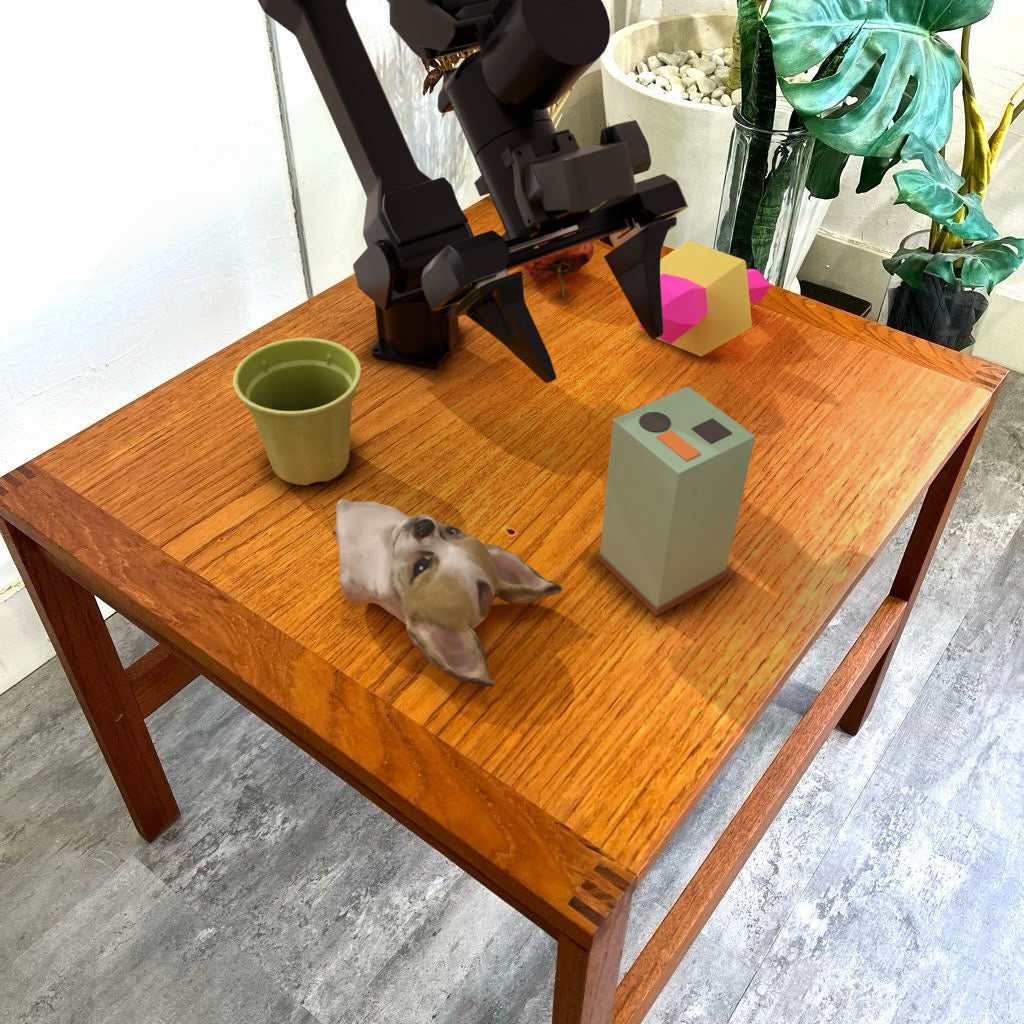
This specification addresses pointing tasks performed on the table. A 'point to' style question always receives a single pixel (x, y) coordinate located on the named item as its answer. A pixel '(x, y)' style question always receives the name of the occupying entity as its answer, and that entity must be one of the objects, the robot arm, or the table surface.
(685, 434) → the shape sorter
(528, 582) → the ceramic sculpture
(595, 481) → the table surface
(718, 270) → the toy
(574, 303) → the table surface
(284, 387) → the plant pot
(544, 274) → the pomegranate
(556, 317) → the table surface
